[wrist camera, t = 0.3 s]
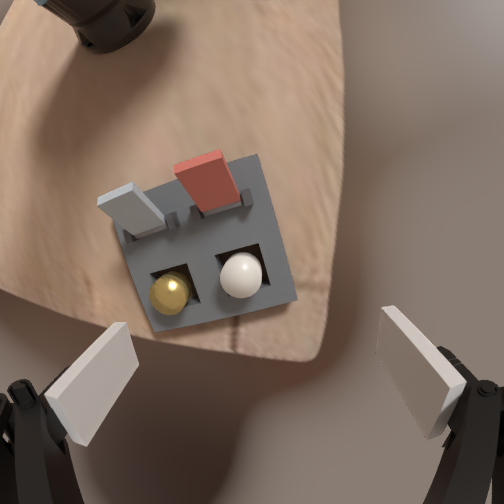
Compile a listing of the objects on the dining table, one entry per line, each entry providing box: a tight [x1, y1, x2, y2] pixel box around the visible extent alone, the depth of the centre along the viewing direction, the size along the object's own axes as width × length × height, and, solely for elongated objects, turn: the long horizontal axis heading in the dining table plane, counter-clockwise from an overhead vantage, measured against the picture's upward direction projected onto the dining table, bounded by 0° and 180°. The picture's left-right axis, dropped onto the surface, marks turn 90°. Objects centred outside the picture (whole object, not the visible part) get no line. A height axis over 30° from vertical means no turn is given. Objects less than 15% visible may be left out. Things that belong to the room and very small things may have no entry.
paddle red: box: [174, 150, 242, 217], centre depth 30 cm, size 2×5×9 cm
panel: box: [113, 154, 298, 332], centre depth 37 cm, size 20×22×5 cm
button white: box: [220, 252, 262, 298], centre depth 35 cm, size 5×5×4 cm
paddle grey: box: [97, 182, 168, 239], centre depth 31 cm, size 2×5×9 cm
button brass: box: [149, 271, 192, 315], centre depth 36 cm, size 5×5×4 cm
